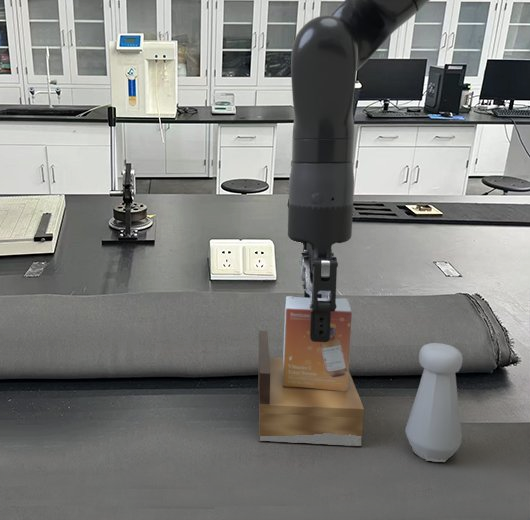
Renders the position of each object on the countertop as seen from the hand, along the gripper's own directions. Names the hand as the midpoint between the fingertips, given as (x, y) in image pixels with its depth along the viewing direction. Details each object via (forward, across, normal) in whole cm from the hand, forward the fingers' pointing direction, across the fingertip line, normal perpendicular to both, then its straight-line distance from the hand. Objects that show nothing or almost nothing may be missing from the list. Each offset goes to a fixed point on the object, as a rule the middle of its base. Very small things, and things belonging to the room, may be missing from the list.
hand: (315, 328), depth 67 cm
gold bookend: (+12, 0, +1) cm, 12 cm away
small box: (+7, 0, 0) cm, 7 cm away
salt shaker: (+12, -7, -13) cm, 19 cm away
